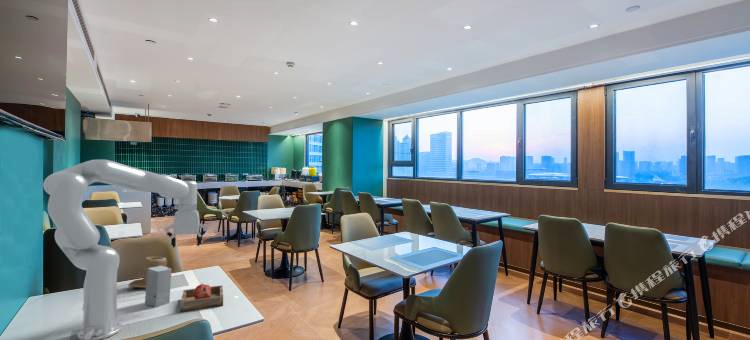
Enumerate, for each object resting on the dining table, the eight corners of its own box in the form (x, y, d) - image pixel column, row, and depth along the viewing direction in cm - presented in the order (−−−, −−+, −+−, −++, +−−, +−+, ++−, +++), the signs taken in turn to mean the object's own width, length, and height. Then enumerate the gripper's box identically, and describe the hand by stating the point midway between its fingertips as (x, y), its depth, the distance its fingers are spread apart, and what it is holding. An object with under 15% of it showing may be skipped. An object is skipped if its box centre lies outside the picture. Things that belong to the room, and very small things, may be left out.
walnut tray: (223, 305, 151) (223, 296, 151) (180, 312, 144) (180, 302, 144) (222, 293, 165) (222, 285, 165) (183, 298, 158) (183, 290, 158)
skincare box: (144, 304, 152) (144, 268, 152) (160, 299, 158) (161, 264, 158) (155, 307, 148) (155, 271, 148) (172, 302, 154) (172, 267, 154)
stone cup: (172, 283, 181) (172, 254, 181) (156, 290, 169) (156, 260, 169) (145, 282, 182) (145, 253, 182) (127, 289, 170) (127, 259, 170)
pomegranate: (191, 305, 154) (193, 297, 147) (192, 289, 158) (194, 280, 151) (209, 304, 157) (212, 296, 151) (210, 288, 162) (213, 280, 155)
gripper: (163, 209, 148) (162, 249, 147) (208, 208, 155) (207, 246, 154) (166, 207, 155) (165, 246, 154) (209, 207, 161) (208, 243, 161)
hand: (186, 246), depth 154 cm, fingers open, 9 cm apart
